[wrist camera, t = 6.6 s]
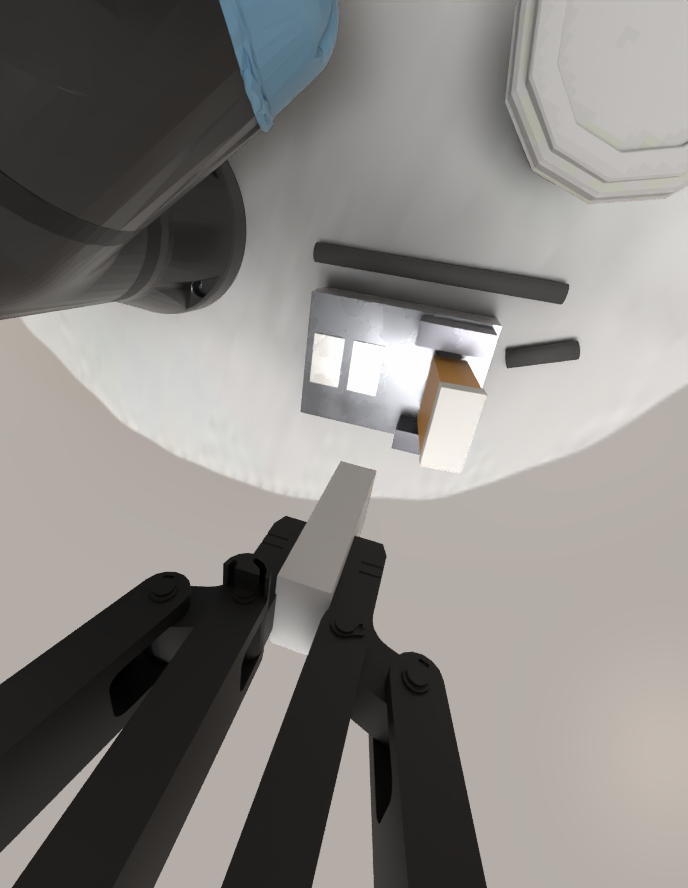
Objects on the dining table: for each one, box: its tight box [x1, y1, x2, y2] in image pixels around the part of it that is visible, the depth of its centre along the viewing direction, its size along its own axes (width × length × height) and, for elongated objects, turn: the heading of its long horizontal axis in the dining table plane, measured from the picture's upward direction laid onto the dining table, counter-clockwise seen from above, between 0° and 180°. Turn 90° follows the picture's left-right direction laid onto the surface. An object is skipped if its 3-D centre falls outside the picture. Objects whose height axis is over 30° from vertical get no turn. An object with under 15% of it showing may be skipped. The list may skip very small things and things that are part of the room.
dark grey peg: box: [506, 341, 580, 368], centre depth 31 cm, size 5×1×1 cm, turn 102°
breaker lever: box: [417, 351, 487, 474], centre depth 26 cm, size 2×6×8 cm, turn 172°
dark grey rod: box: [314, 243, 569, 304], centre depth 30 cm, size 19×1×1 cm, turn 82°
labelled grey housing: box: [301, 287, 502, 455], centre depth 31 cm, size 14×10×7 cm
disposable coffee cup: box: [505, 0, 688, 204], centre depth 18 cm, size 11×11×15 cm
